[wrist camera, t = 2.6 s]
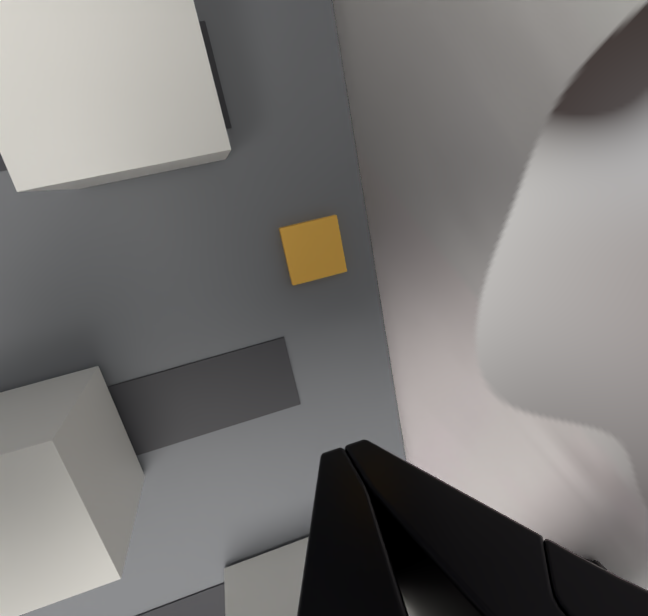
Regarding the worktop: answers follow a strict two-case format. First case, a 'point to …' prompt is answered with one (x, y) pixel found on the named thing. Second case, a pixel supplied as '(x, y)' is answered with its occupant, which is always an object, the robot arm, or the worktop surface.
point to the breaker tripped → (63, 491)
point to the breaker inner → (266, 583)
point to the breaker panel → (215, 312)
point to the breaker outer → (104, 92)
